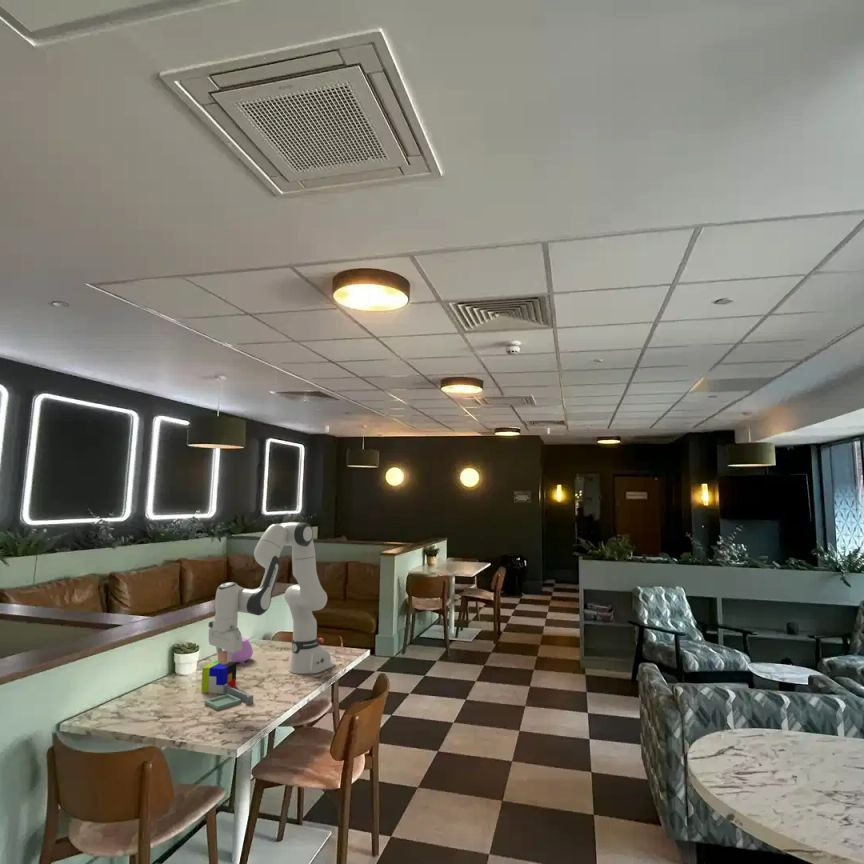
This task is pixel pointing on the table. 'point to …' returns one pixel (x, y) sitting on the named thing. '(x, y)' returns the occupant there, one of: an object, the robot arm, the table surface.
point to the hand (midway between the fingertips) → (224, 659)
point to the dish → (222, 702)
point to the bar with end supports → (238, 694)
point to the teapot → (243, 652)
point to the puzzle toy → (218, 676)
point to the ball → (222, 657)
